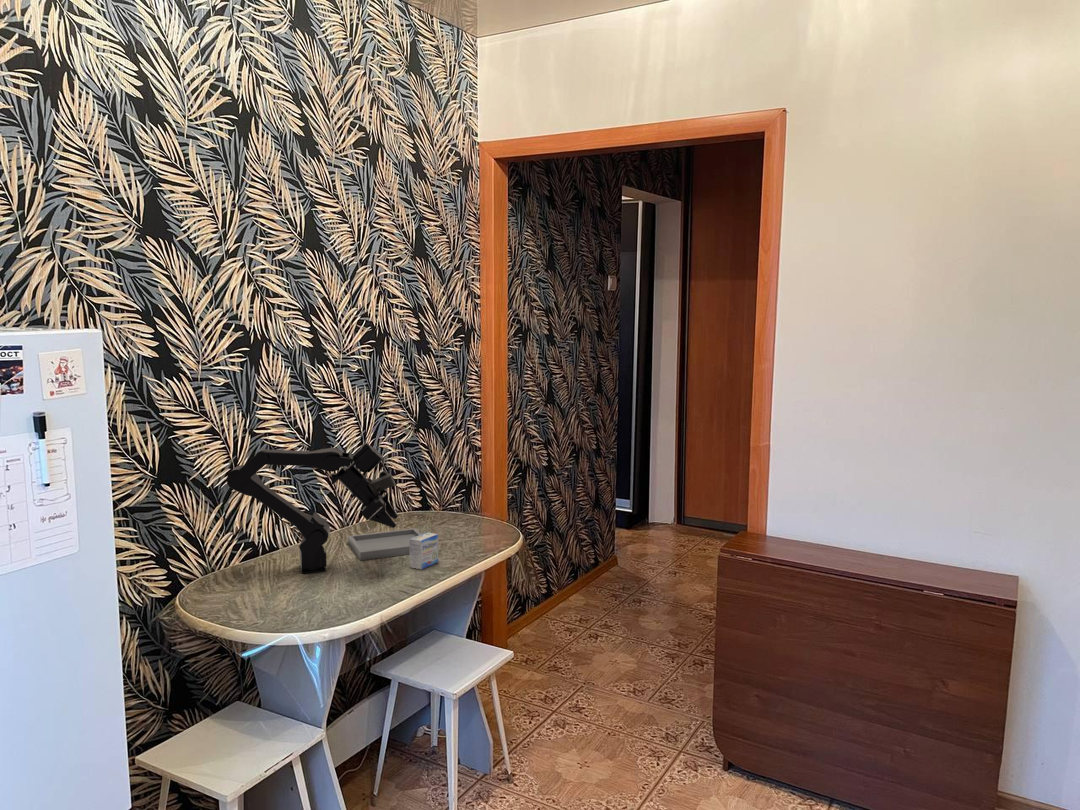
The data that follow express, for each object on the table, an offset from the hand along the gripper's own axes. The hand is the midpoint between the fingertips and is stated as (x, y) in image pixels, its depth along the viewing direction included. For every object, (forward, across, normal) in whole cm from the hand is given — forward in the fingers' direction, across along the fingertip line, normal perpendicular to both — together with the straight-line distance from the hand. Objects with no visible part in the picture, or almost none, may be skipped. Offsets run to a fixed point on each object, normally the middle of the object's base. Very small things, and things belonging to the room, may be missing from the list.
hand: (395, 522), depth 215 cm
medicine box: (+15, 0, +3) cm, 15 cm away
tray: (+8, +18, +11) cm, 22 cm away
